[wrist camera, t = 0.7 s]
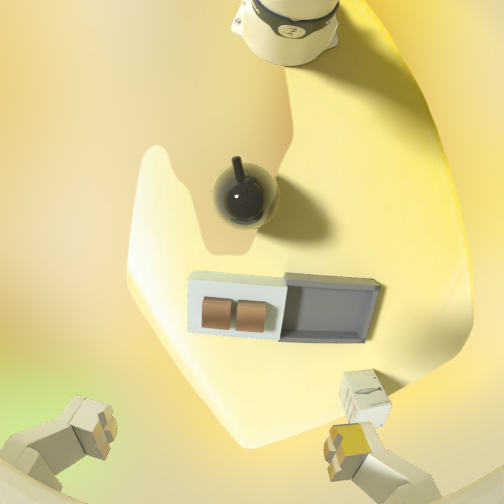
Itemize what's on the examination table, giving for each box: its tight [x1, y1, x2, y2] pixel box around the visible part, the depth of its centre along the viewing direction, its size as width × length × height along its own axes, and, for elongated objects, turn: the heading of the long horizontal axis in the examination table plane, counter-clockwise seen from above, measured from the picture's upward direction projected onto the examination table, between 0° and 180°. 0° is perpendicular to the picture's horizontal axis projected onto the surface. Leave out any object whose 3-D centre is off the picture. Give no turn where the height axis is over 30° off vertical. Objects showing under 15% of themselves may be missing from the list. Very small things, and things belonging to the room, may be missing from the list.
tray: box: [278, 273, 380, 343], centre depth 50 cm, size 12×17×4 cm
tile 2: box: [235, 299, 266, 333], centre depth 46 cm, size 4×4×2 cm
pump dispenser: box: [211, 156, 280, 230], centre depth 39 cm, size 10×10×15 cm
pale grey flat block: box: [188, 270, 288, 340], centre depth 49 cm, size 10×16×4 cm, turn 85°
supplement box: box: [339, 369, 392, 428], centre depth 51 cm, size 7×7×13 cm
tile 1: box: [201, 296, 232, 330], centre depth 46 cm, size 4×4×2 cm
